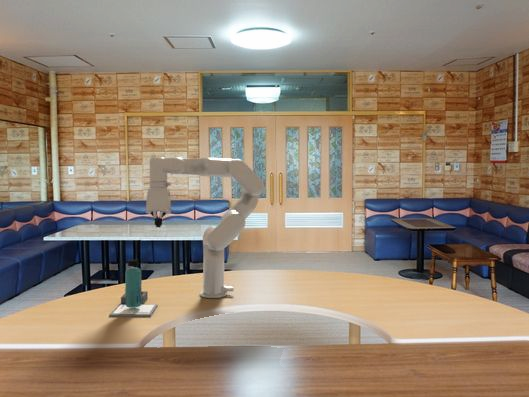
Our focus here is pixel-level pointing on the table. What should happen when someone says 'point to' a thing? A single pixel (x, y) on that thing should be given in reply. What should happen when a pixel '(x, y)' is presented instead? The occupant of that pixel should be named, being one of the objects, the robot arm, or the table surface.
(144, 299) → the button housing
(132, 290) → the beverage bottle
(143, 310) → the drawing board
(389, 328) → the table surface
